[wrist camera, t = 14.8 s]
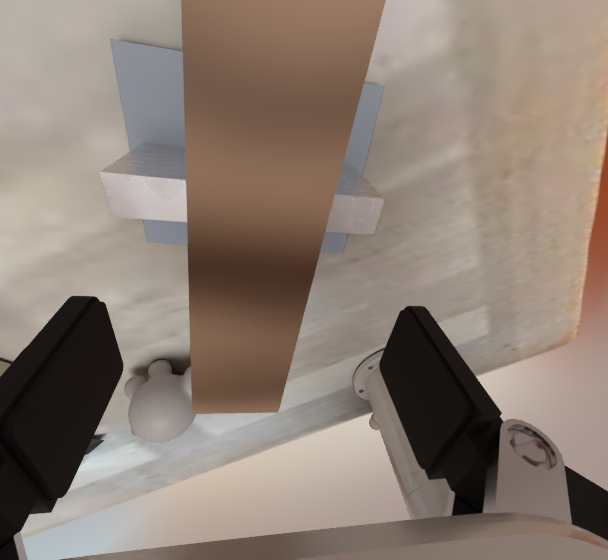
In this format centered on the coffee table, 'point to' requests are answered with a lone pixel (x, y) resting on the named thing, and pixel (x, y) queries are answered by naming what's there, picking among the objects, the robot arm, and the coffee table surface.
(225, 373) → the walnut batten
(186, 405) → the round bodied animal figurine
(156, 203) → the steel ridge
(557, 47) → the coffee table surface
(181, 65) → the fulcrum base
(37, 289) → the coffee table surface
